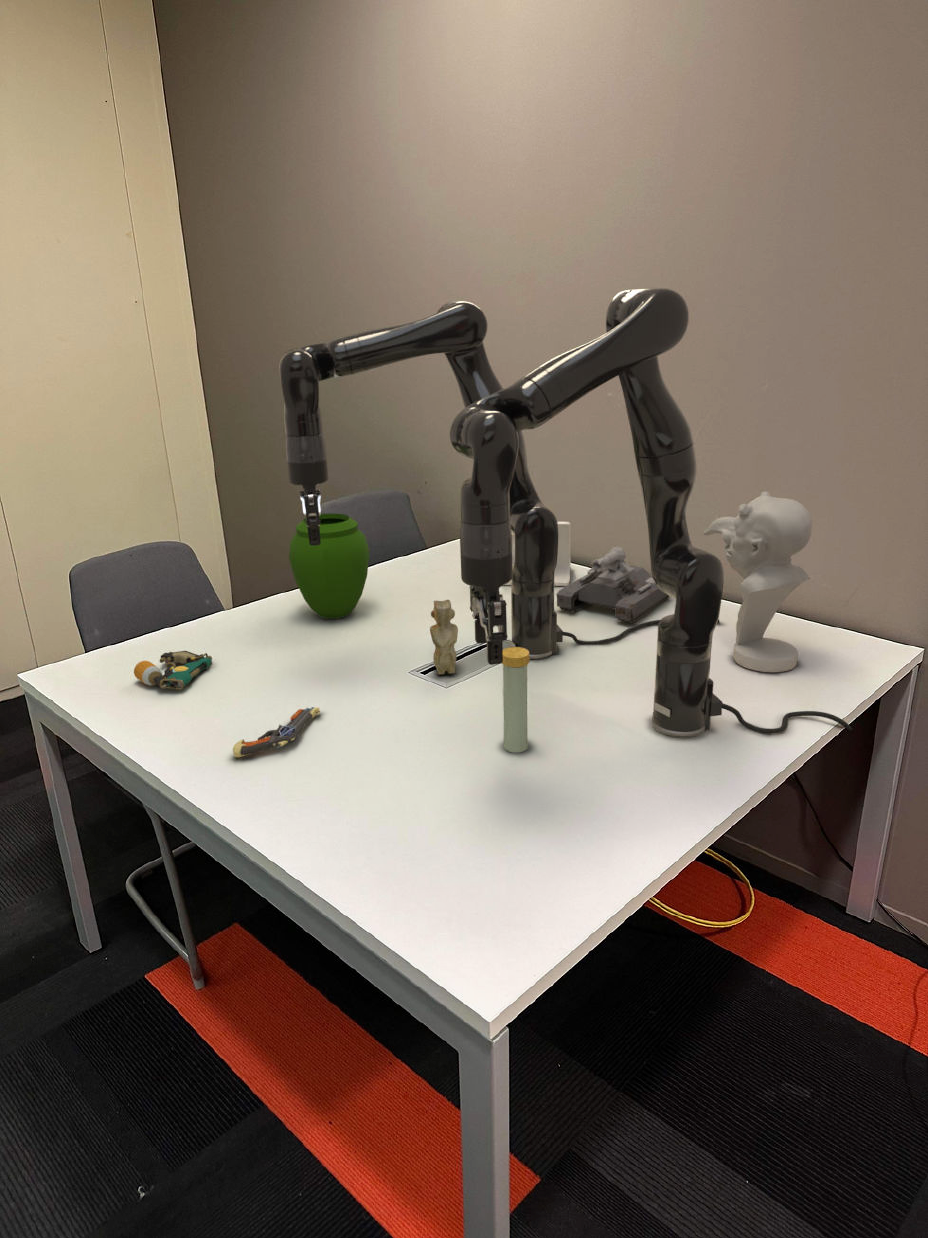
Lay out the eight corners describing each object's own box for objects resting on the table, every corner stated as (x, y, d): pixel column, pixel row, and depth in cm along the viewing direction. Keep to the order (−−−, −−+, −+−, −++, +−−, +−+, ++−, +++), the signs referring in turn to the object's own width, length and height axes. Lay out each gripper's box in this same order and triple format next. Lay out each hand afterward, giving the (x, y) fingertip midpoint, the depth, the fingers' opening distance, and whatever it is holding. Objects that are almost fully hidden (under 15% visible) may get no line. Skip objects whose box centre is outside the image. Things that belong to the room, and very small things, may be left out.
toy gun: (227, 747, 146) (281, 745, 144) (271, 705, 164) (320, 702, 162) (230, 762, 146) (284, 759, 144) (274, 718, 164) (322, 715, 162)
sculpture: (458, 662, 183) (456, 596, 178) (460, 676, 176) (457, 608, 171) (431, 663, 183) (428, 597, 177) (431, 677, 176) (428, 609, 171)
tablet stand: (569, 585, 229) (570, 524, 223) (476, 584, 232) (475, 523, 226) (570, 566, 246) (571, 508, 240) (484, 564, 249) (483, 507, 243)
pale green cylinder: (514, 755, 146) (514, 661, 140) (499, 746, 149) (497, 654, 143) (532, 747, 148) (532, 655, 142) (516, 739, 151) (515, 648, 145)
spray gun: (177, 659, 191) (231, 671, 185) (120, 684, 176) (176, 698, 171) (176, 641, 190) (230, 653, 184) (118, 665, 175) (174, 678, 169)
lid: (514, 670, 140) (514, 660, 139) (494, 661, 143) (494, 652, 142) (535, 662, 142) (535, 652, 142) (516, 653, 146) (516, 644, 145)
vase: (389, 608, 216) (383, 514, 208) (339, 633, 201) (330, 533, 192) (330, 596, 226) (322, 506, 218) (278, 619, 211) (267, 523, 202)
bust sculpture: (733, 628, 197) (746, 477, 185) (818, 663, 177) (839, 497, 165) (679, 642, 190) (690, 486, 178) (762, 680, 170) (780, 508, 158)
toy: (603, 584, 229) (605, 530, 224) (673, 597, 218) (677, 540, 213) (555, 612, 210) (556, 553, 205) (630, 627, 199) (633, 566, 194)
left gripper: (328, 462, 158) (335, 547, 164) (324, 450, 171) (331, 529, 177) (287, 465, 157) (295, 550, 162) (286, 452, 170) (294, 532, 176)
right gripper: (523, 561, 118) (524, 668, 124) (499, 535, 131) (501, 633, 137) (470, 565, 117) (473, 674, 122) (451, 539, 130) (455, 638, 135)
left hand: (314, 539), depth 170 cm, fingers open, 8 cm apart
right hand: (488, 652), depth 129 cm, fingers open, 8 cm apart
